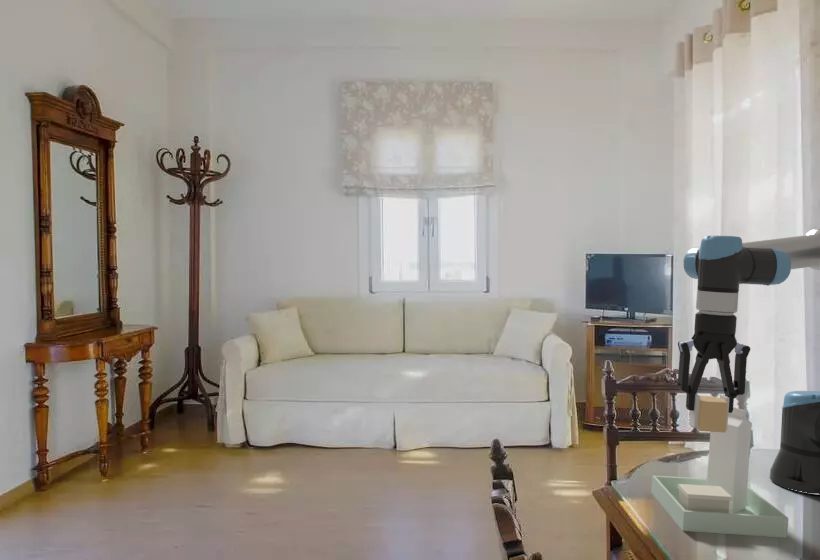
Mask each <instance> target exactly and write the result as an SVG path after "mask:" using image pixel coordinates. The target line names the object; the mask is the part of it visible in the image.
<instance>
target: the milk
mask: <svg viewBox="0 0 820 560" xmlns="http://www.w3.org/2000/svg"><path fill="white" fill-rule="evenodd" d="M752 425H753V423H752V421H750V420H749V419H748V418H747V410H746V409H742V408H737V407H734V406H733V411H732V413H728V425H727V430H726V433H724V432H710V433H709V445H708V447H709V449H708V460H707V475H706V476H707V477H706V479H707V486H720V487H722V488H723V489H724V490H725V491H726V492H727V493H728V494H729V495H731V496H732V501H730V502H729V513H736V512H739V511H741V510H743V509H746V499H747V485H749V484H748V481H749V467H750V457H751V456H750V452H751V441H752V440H751V439H752V427H753V426H752Z"/></svg>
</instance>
